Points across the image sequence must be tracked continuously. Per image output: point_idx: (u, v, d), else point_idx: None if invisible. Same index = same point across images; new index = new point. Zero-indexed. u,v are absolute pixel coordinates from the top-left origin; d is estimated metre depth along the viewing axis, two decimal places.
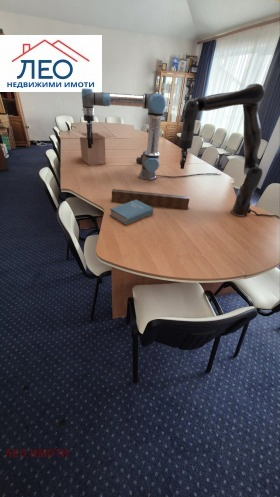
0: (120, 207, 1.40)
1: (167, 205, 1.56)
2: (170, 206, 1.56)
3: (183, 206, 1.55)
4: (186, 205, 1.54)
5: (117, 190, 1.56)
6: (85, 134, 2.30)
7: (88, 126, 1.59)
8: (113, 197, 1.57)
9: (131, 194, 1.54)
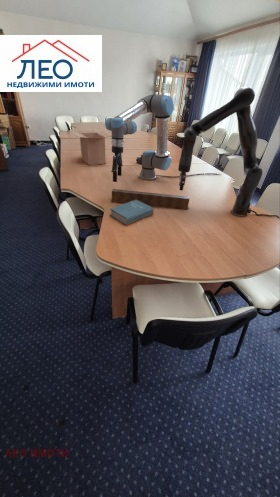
0: (120, 207, 1.40)
1: (167, 205, 1.56)
2: (170, 206, 1.56)
3: (183, 206, 1.55)
4: (186, 205, 1.54)
5: (117, 190, 1.56)
6: (85, 134, 2.30)
7: None
8: (113, 197, 1.57)
9: (131, 194, 1.54)
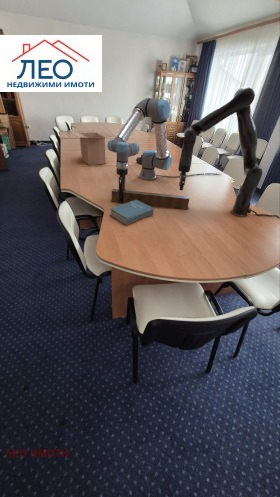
0: (120, 207, 1.40)
1: (167, 205, 1.56)
2: (170, 206, 1.56)
3: (183, 206, 1.55)
4: (186, 205, 1.54)
5: (117, 190, 1.56)
6: (85, 134, 2.30)
7: None
8: (113, 197, 1.57)
9: (131, 194, 1.54)
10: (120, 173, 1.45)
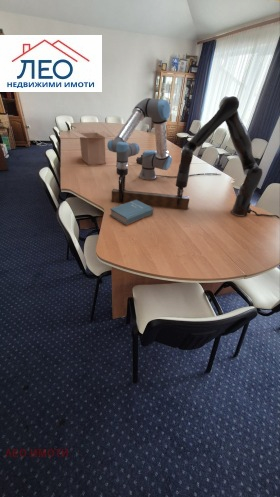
0: (120, 207, 1.40)
1: (167, 205, 1.56)
2: (170, 206, 1.56)
3: (183, 206, 1.55)
4: (186, 205, 1.54)
5: (117, 190, 1.56)
6: (85, 134, 2.30)
7: None
8: (113, 197, 1.57)
9: (131, 194, 1.54)
10: (120, 173, 1.45)
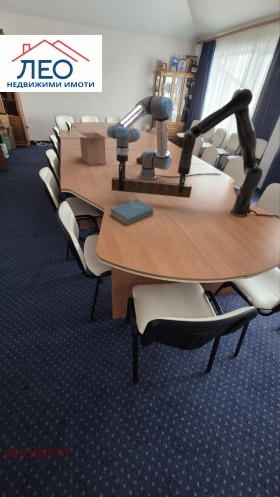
0: (120, 207, 1.40)
1: (169, 194, 1.51)
2: (172, 194, 1.51)
3: (185, 195, 1.50)
4: (188, 193, 1.49)
5: (117, 178, 1.51)
6: (85, 134, 2.30)
7: None
8: (113, 185, 1.52)
9: (131, 182, 1.49)
10: (120, 159, 1.40)
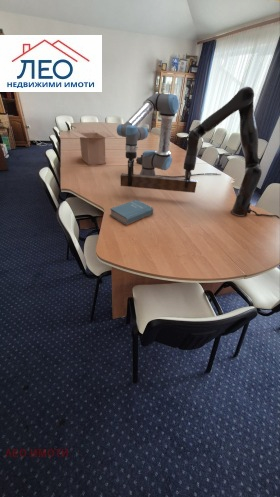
0: (120, 207, 1.40)
1: (175, 189, 1.59)
2: (178, 189, 1.59)
3: (191, 190, 1.58)
4: (193, 188, 1.57)
5: (126, 174, 1.59)
6: (85, 134, 2.30)
7: None
8: (122, 181, 1.60)
9: (139, 178, 1.57)
10: (129, 156, 1.48)
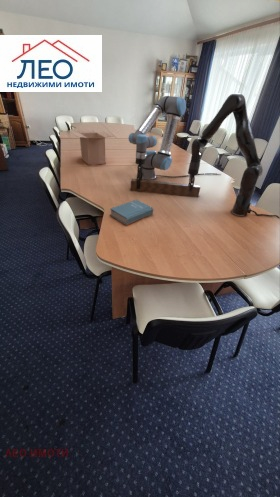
0: (120, 207, 1.40)
1: (180, 193, 1.75)
2: (183, 194, 1.75)
3: (194, 194, 1.74)
4: (197, 193, 1.74)
5: None
6: (85, 134, 2.30)
7: None
8: (132, 186, 1.76)
9: (148, 183, 1.73)
10: (139, 162, 1.63)
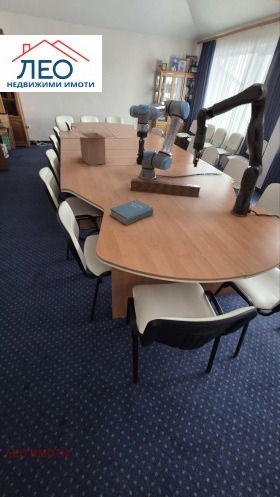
0: (120, 207, 1.40)
1: (180, 193, 1.75)
2: (183, 194, 1.75)
3: (194, 194, 1.74)
4: (197, 193, 1.74)
5: (136, 180, 1.75)
6: (85, 134, 2.30)
7: None
8: (132, 186, 1.76)
9: (148, 183, 1.73)
10: (140, 135, 1.53)
